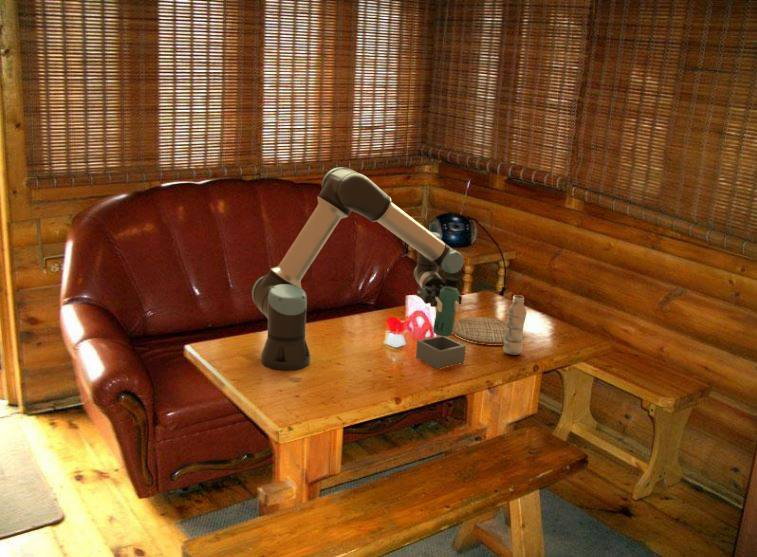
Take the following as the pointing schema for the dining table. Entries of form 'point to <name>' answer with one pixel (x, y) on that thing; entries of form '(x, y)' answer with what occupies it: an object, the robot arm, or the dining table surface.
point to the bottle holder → (440, 351)
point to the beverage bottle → (446, 308)
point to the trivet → (481, 330)
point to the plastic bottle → (515, 326)
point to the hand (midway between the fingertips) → (449, 307)
